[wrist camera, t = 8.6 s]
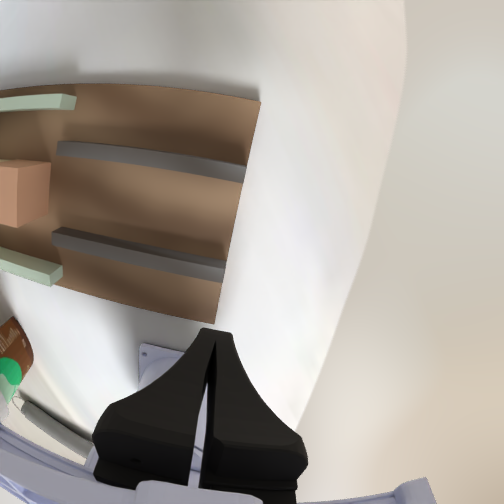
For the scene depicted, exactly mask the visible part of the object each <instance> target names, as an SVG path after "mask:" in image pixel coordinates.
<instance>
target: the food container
mask: <svg viewBox="0 0 504 504" xmlns="http://www.w3.org/2000/svg"><path fill="white" fill-rule="evenodd" d="M32 364H33V351H32V347H31V344H30V342H29V340H28V338H27V336H26V334H25V332H24V331H23V329H22V327H21V326H20V325H19V323H18V322H17V320H16V319H15V318H14V317H13V316H12V317H11V318H10V319H9V320H8V321H7V322H6V323H4V324H3V325H2V326H1V327H0V421H1V422H2V421H3V420H5V419H6V418H7V417H8V415H9V409H8V403H9V402H10V400H11V398H12V396H13V395H14V393H15V391H16V390H17V388H18V386H19V385H20V383H21V381H22V380H23V378H24V377H25V375H26V373H27V372H28V370H29V369H30V367H31V366H32Z"/></svg>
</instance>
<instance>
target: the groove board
mask: <svg viewBox="0 0 504 504" xmlns="http://www.w3.org/2000/svg"><path fill="white" fill-rule="evenodd" d="M42 94H67V95H71V96H76V97H77V99H76V104H75V109H74V110H31V111H11V112H0V159H3V160H17V159H19V160H30V161H41V162H51V172H50V184H49V203H48V214H47V215H45V216H42V217H40V218H38V219H36V220H33V221H31V222H29V223H27V224H25V225H22V226H20V227H18V228H15V227H11V226H7V225H4V224H0V247H3V248H6V249H9V250H13V251H16V252H19V253H22V254H25V255H29V256H32V257H35V258H39V259H42V260H46V261H49V262H53V263H56V264H60V265H62V267H63V277H62V278H60V279H59V280H58V281H57V282H56V283H55V285H58V286H61V287H65V288H68V289H71V290H75V291H78V292H81V293H85V294H88V295H92V296H95V297H99V298H103V299H106V300H110V301H114V302H118V303H121V304H125V305H129V306H133V307H137V308H141V309H145V310H150V311H154V312H158V313H163V314H167V315H171V316H176V317H181V318H185V319H190V320H195V321H200V322H205V323H210V324H214V323H215V318H216V312H217V307H218V302H219V297H220V292H221V287H222V283H223V278H224V273H225V268H226V262H227V257H228V252H229V247H230V242H231V237H232V232H233V227H234V223H235V218H236V213H237V208H238V204H239V199H240V194H241V190H242V185H243V182H244V177H245V173H246V168H247V162H248V158H249V153H250V149H251V145H252V140H253V136H254V131H255V127H256V123H257V118H258V114H259V110H260V106H261V102H259V101H254V100H249V99H244V98H239V97H234V96H228V95H222V94H216V93H210V92H203V91H196V90H188V89H180V88H170V87H160V86H147V85H131V84H60V85H44V86H33V87H23V88H15V89H7V90H1V91H0V98H7V97H17V96H28V95H42Z"/></svg>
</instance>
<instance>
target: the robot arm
mask: <svg viewBox="0 0 504 504" xmlns="http://www.w3.org/2000/svg"><path fill="white" fill-rule="evenodd" d="M143 352H145V353H146V354H144V353H143ZM139 381H140V384H139V386H138V389H137V392H136V393H134V394H132V395H130V396H128V397H126V398H124V399H121V400H119V401H117V402H114V403H112V404H110V405H109V406H108V407H107V409H106V410H105V411H104V413H103V414H102V416H101V417H100V419H99V420H98V423H97V425H96V427H95V430H94V432H93V434H92V440H93V443H94V446H93V447H92V449H91V451H90V452H89V455H88V457H87V459H86V462H85V464H84V466H83V465H81V464H78V463H76V462H74V461H71V460H69V459H67V458H64V457H62V456H60V455H58V454H55V453H53V452H51V451H49V450H47V449H45V448H43V447H41V446H39V445H37V444H35V443H33V442H31V441H30V440H28V439H26V438H24V437H22V436H20V435H19V434H17V433H15V432H14V431H12V430H10V429H9V428H7V427H5V426H4V425H2V424H1V421H0V486H1V487H2V488H4V489H5V490H7V491H8V492H10V493H11V494H13V495H14V496H16V497H17V498H19V499H20V500H22V501H24V502H25V503H27V504H437V503H436V500H435V498H434V495H433V493H432V490H431V488H430V485H429V483H428V480H427V478H426V477H423V478H419V479H415V480H411V481H407V482H405V483H403V484H401V485H399V486H398V487H397V488H396V489H395V490H394V491H391V492H387V493H382V494H376V495H371V496H364V497H358V498H350V499H343V500H333V501H321V502H304V503H296V494H295V490H297V487H298V486H297V479H298V478H299V476H300V475H301V474H302V473H303V472H304V470H305V469H306V467H307V466H308V458H307V457H308V456H307V452H306V449H305V446H304V443H303V440H302V438H301V436H299V435H298V434H297V433H296V432H294V431H293V430H292V429H291V428H289V427H288V426H287V425H286V424H284V423H283V422H282V421H281V420H280V419H279V418H278V417H277V416H276V415H275V414H274V412H273V411H272V410H271V409H270V408H269V407H268V406H267V405H266V403H265V402H264V401H263V399H262V398H261V397H260V395H259V394H258V392H257V391H256V389H255V388H254V386H253V385H252V383H251V381H250V380H249V378H248V376H247V374H246V372H245V370H244V368H243V366H242V363H241V361H240V358H239V356H238V353H237V350H236V347H235V344H234V340H233V335H232V334H231V333H229V332H224V331H219V330H213V329H208V328H202V329H200V331H199V333H198V335H197V337H196V339H195V340H194V341H193V343H192V344H191V346H190V347H189V348H188V349H187V351H186V352H185V353H184V352H180V351H175V350H171V349H166V348H162V347H158V346H153V345H149V344H145V343H143V344H141V345H140V347H139Z"/></svg>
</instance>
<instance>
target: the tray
mask: <svg viewBox="0 0 504 504" xmlns="http://www.w3.org/2000/svg"><path fill="white" fill-rule="evenodd" d="M76 99H77V97H76V96H71V95H67V94H42V95H28V96H17V97H7V98H0V112H11V111H31V110H74V109H75V104H76ZM0 269H1V270H4V271H6V272H9V273H12V274H14V275H17V276H20V277H23V278H26V279H29V280H31V281H34V282H37V283H40V284H43V285H46V286H49V287H51V286H52V285H53V284H55V283H56V282H57V281H58V280H59V279H60V278H62V277H63V267H62V265H60V264H56V263H53V262H49V261H46V260H42V259H39V258H35V257H32V256H29V255H25V254H22V253H19V252H16V251H13V250H9V249H6V248H3V247H0Z"/></svg>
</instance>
